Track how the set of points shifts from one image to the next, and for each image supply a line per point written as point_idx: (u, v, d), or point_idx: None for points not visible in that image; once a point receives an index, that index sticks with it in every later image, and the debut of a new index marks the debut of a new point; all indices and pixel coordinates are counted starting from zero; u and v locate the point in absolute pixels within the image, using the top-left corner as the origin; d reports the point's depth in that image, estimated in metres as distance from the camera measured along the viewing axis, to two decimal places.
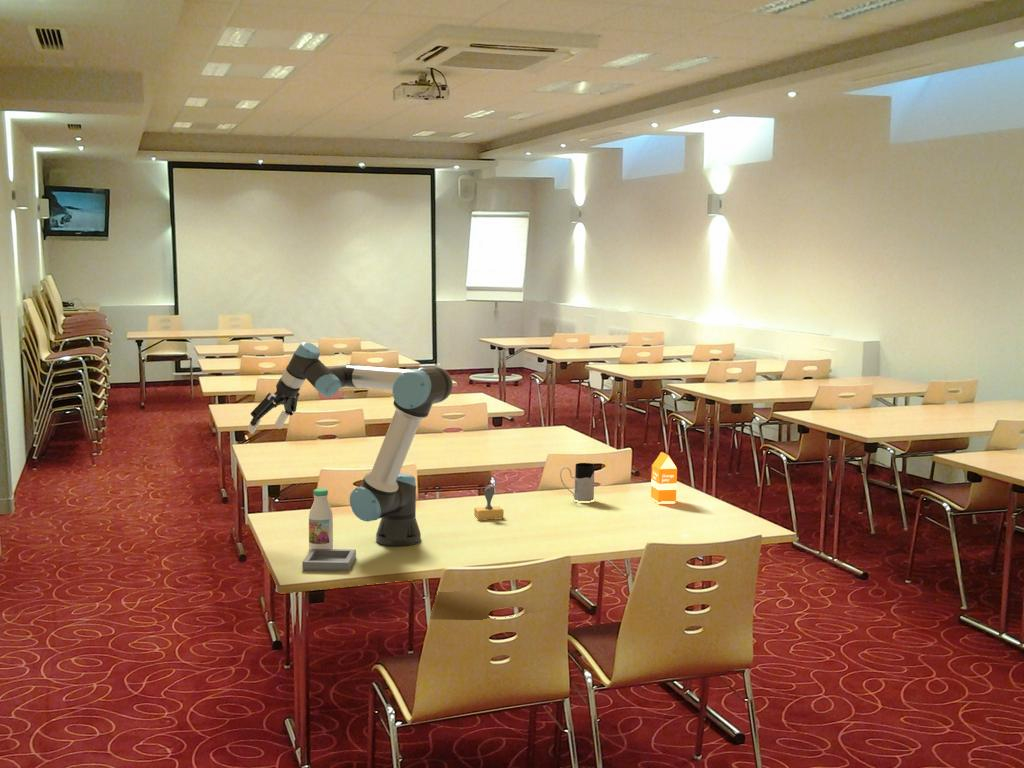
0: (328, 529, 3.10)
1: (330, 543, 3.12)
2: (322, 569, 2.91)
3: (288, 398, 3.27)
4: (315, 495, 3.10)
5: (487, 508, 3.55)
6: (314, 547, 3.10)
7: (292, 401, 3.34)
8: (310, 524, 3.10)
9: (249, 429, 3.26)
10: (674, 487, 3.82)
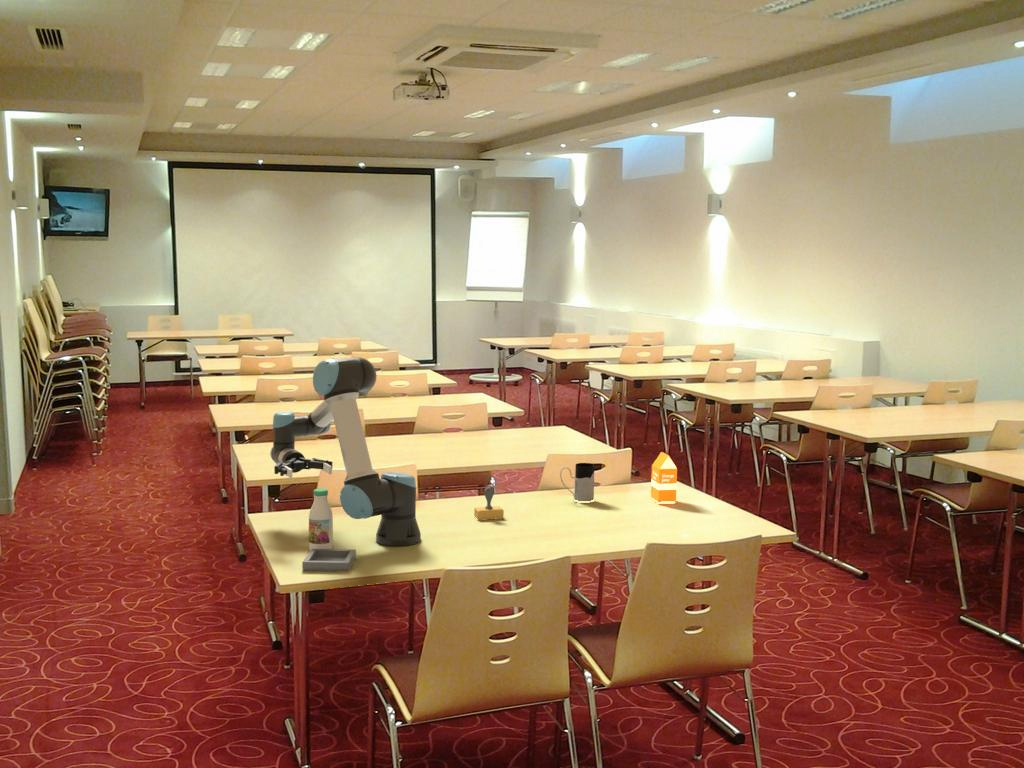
0: (328, 529, 3.10)
1: (330, 543, 3.12)
2: (322, 569, 2.91)
3: (300, 458, 3.33)
4: (315, 495, 3.10)
5: (487, 508, 3.55)
6: (314, 547, 3.10)
7: None
8: (310, 524, 3.10)
9: (289, 474, 3.16)
10: (674, 487, 3.82)
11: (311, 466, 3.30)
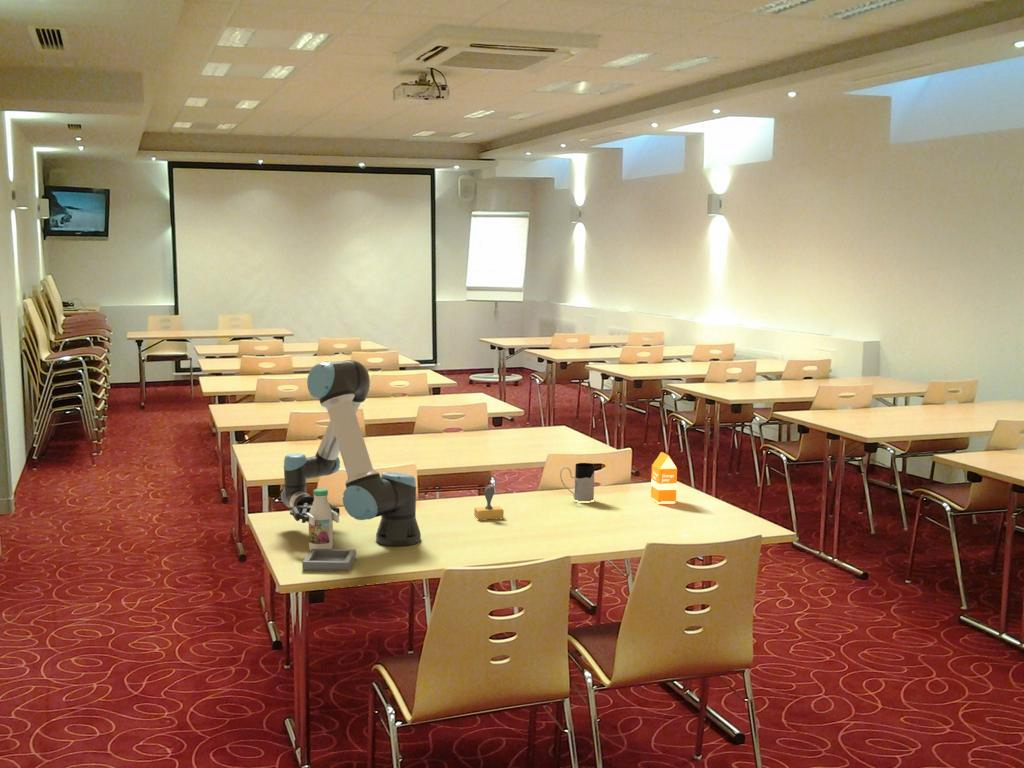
0: (328, 529, 3.10)
1: (330, 543, 3.12)
2: (322, 569, 2.91)
3: (312, 502, 3.23)
4: (315, 495, 3.10)
5: (487, 508, 3.55)
6: (314, 547, 3.10)
7: None
8: (310, 524, 3.10)
9: (311, 522, 3.06)
10: (674, 487, 3.82)
11: None
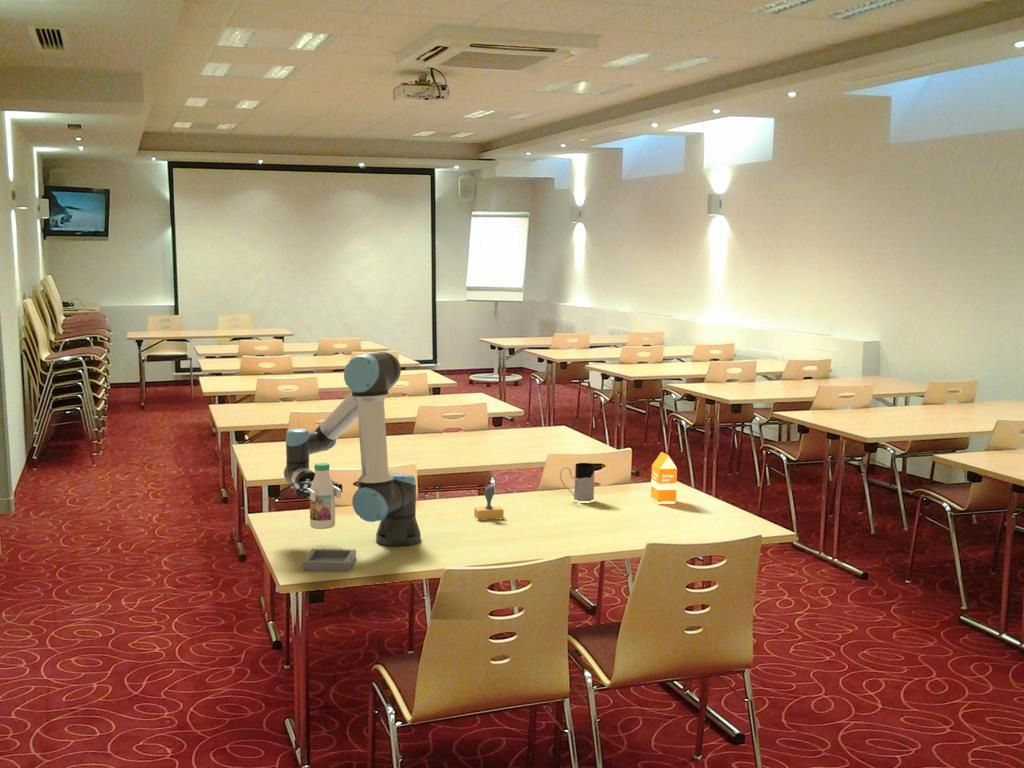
0: (330, 505, 2.97)
1: (332, 520, 2.98)
2: (322, 569, 2.91)
3: None
4: (316, 469, 2.96)
5: (487, 508, 3.55)
6: (315, 524, 2.97)
7: None
8: (311, 500, 2.97)
9: (312, 497, 2.93)
10: (674, 487, 3.82)
11: None
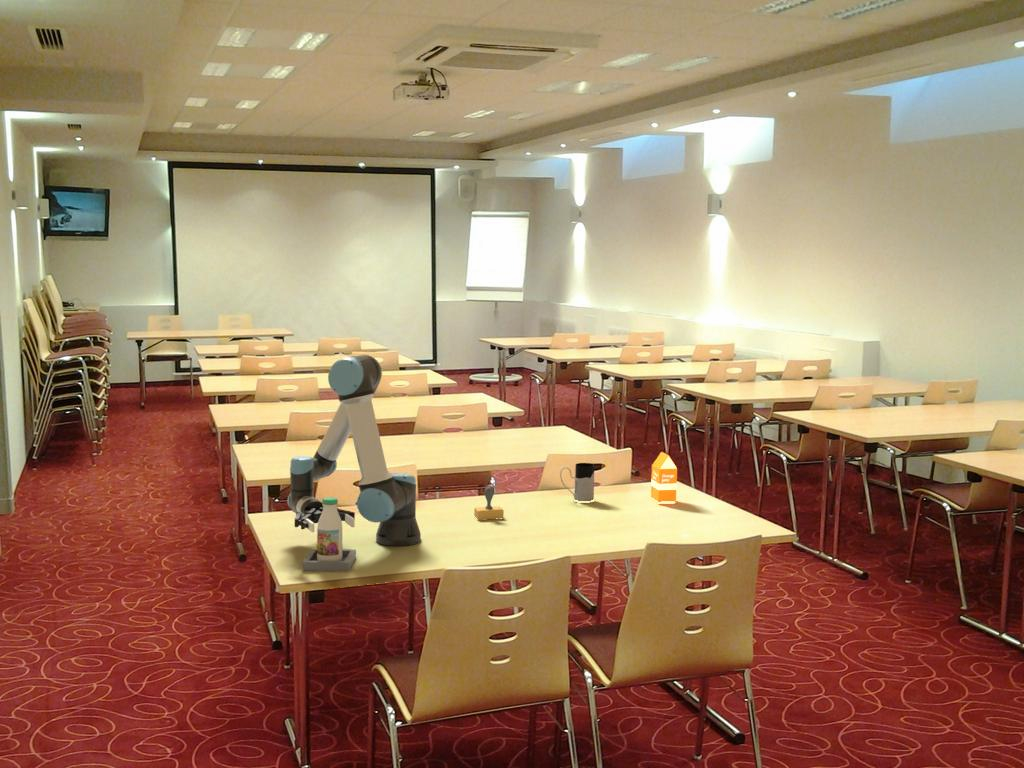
0: (338, 540, 2.95)
1: (339, 555, 2.96)
2: (322, 569, 2.91)
3: (320, 508, 3.07)
4: (324, 504, 2.94)
5: (487, 508, 3.55)
6: (322, 559, 2.94)
7: None
8: (319, 535, 2.94)
9: (311, 528, 2.90)
10: (674, 487, 3.82)
11: None
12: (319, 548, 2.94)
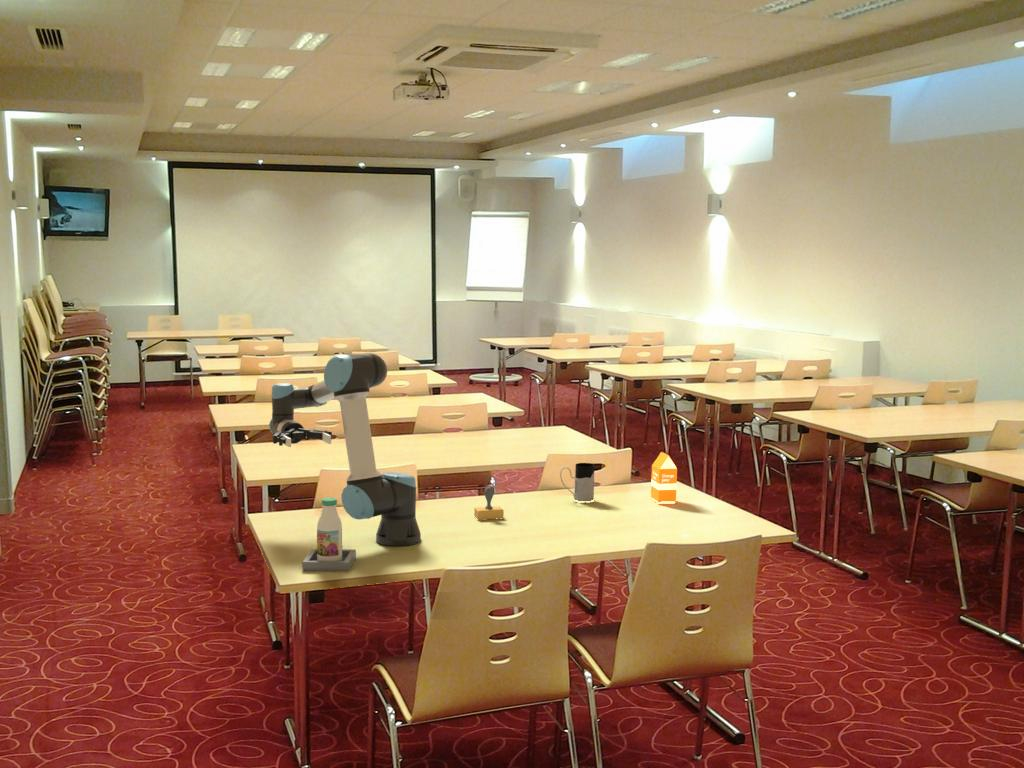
0: (338, 540, 2.94)
1: (339, 555, 2.96)
2: (322, 569, 2.91)
3: None
4: (324, 505, 2.94)
5: (487, 508, 3.55)
6: (322, 559, 2.94)
7: None
8: (318, 535, 2.94)
9: (288, 443, 3.12)
10: (674, 487, 3.82)
11: (310, 436, 3.26)
12: (319, 549, 2.94)
